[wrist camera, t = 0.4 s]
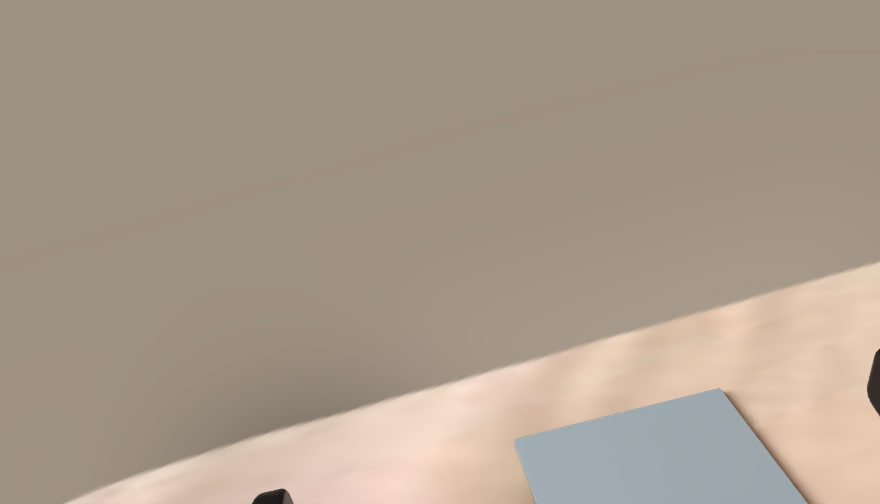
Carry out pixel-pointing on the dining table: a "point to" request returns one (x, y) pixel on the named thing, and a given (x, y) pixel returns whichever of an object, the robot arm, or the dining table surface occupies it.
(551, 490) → the slate-blue rubber mat
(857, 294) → the dining table surface
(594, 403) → the dining table surface
